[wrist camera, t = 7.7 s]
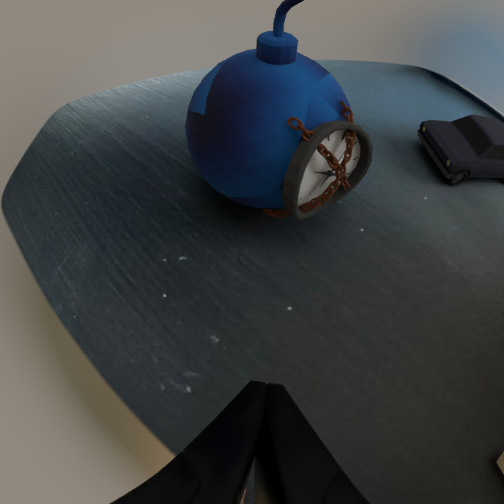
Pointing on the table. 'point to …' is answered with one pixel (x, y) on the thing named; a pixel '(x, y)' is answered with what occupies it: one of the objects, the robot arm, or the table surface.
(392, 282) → the table surface
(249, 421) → the robot arm
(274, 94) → the bomb
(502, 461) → the drawer
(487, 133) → the toy car
